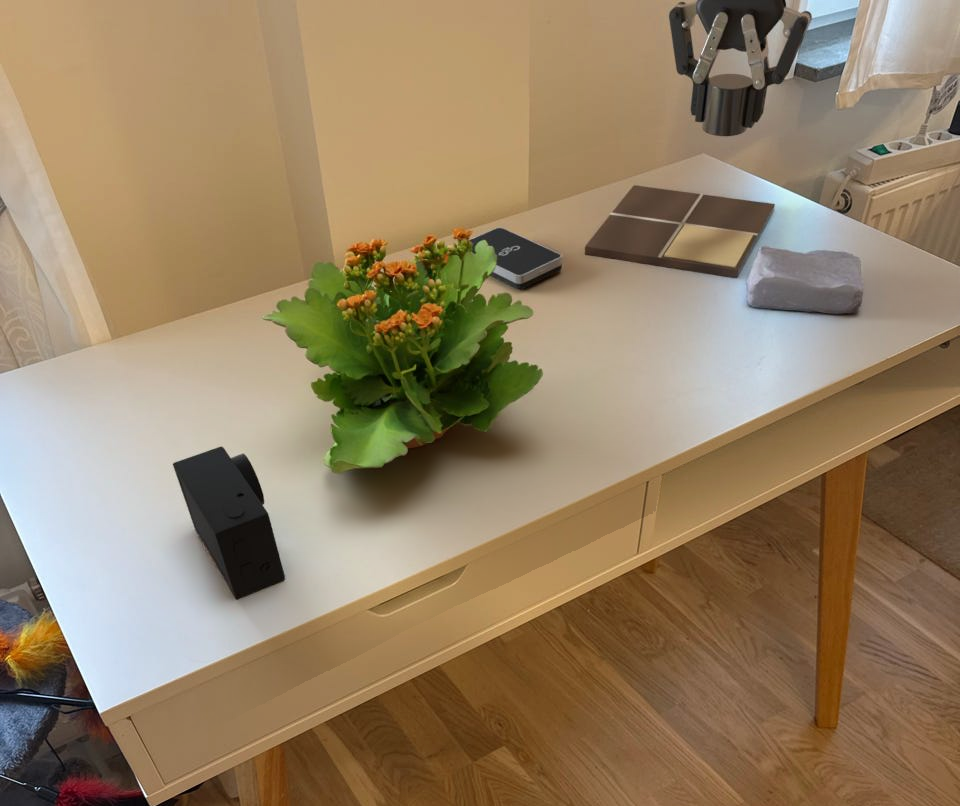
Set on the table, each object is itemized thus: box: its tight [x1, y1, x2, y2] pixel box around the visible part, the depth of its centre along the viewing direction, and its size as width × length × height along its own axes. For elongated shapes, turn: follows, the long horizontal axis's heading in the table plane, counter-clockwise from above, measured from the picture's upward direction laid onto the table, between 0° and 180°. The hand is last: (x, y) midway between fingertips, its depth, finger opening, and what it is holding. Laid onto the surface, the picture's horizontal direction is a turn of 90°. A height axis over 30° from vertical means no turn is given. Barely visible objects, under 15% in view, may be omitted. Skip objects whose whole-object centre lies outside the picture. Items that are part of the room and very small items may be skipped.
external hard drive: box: [468, 226, 563, 290], centre depth 111 cm, size 7×11×2 cm, turn 41°
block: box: [746, 245, 864, 315], centre depth 104 cm, size 12×5×10 cm
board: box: [584, 184, 776, 279], centre depth 115 cm, size 18×18×1 cm
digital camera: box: [172, 446, 286, 600], centre depth 77 cm, size 10×5×7 cm, turn 30°
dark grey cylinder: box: [701, 73, 753, 137], centre depth 100 cm, size 5×5×4 cm
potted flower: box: [262, 227, 544, 475], centre depth 86 cm, size 25×24×18 cm
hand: (725, 121), depth 101 cm, fingers closed on dark grey cylinder, 4 cm apart
